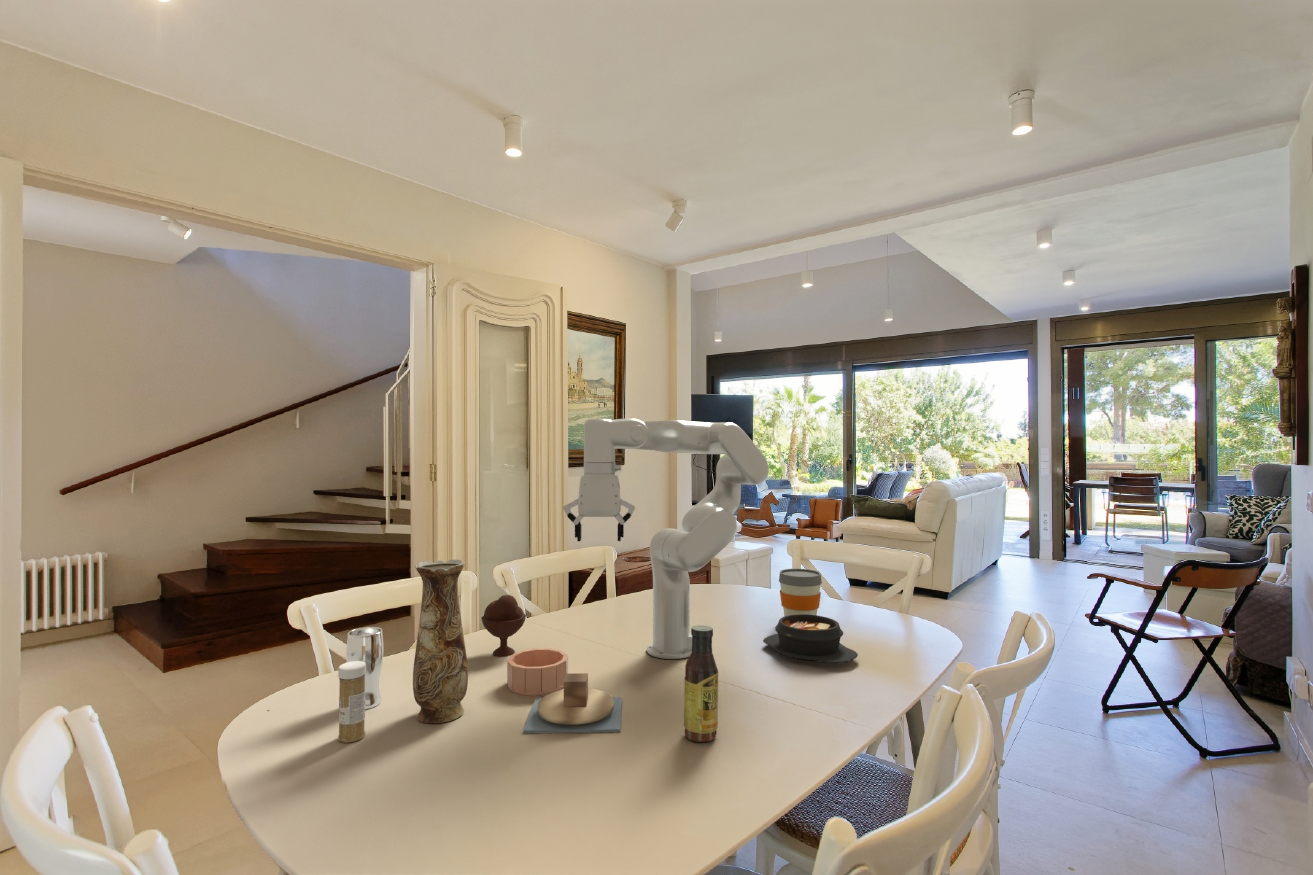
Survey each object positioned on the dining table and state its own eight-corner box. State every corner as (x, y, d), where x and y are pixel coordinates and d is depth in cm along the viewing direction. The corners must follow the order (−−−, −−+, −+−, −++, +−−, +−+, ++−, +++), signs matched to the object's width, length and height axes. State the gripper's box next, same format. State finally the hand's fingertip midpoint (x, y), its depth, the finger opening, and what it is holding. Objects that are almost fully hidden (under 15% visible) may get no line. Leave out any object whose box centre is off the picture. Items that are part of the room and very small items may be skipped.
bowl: (570, 673, 149) (570, 648, 149) (563, 695, 136) (563, 667, 136) (514, 674, 149) (514, 648, 149) (502, 696, 136) (502, 668, 136)
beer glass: (390, 699, 133) (390, 628, 134) (365, 713, 127) (365, 638, 127) (364, 695, 136) (364, 625, 136) (338, 708, 129) (338, 634, 129)
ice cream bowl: (530, 646, 168) (530, 589, 168) (516, 661, 157) (517, 600, 157) (491, 645, 169) (491, 588, 169) (475, 659, 158) (475, 599, 158)
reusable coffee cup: (794, 614, 199) (794, 566, 199) (829, 622, 190) (829, 572, 190) (770, 622, 191) (770, 572, 191) (806, 631, 182) (806, 579, 182)
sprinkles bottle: (334, 737, 117) (335, 664, 117) (360, 729, 120) (361, 658, 120) (342, 746, 113) (343, 670, 113) (369, 738, 116) (369, 664, 116)
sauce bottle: (707, 747, 113) (708, 635, 113) (677, 738, 116) (677, 629, 116) (724, 733, 118) (724, 626, 119) (694, 725, 122) (694, 621, 122)
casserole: (747, 649, 166) (747, 617, 166) (792, 635, 178) (792, 605, 178) (829, 677, 147) (829, 640, 147) (872, 659, 159) (872, 625, 159)
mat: (621, 699, 134) (621, 696, 134) (620, 731, 119) (620, 729, 119) (536, 700, 133) (536, 697, 133) (523, 733, 118) (523, 730, 118)
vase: (416, 729, 120) (416, 570, 120) (409, 708, 129) (410, 561, 129) (472, 718, 124) (473, 565, 125) (462, 699, 134) (462, 556, 134)
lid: (615, 697, 134) (615, 663, 134) (612, 729, 119) (612, 691, 119) (543, 697, 133) (543, 664, 133) (531, 730, 118) (531, 692, 118)
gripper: (635, 469, 158) (635, 538, 158) (565, 469, 157) (565, 538, 157) (635, 470, 150) (635, 542, 150) (561, 470, 150) (561, 543, 150)
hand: (599, 540), depth 154 cm, fingers open, 9 cm apart
